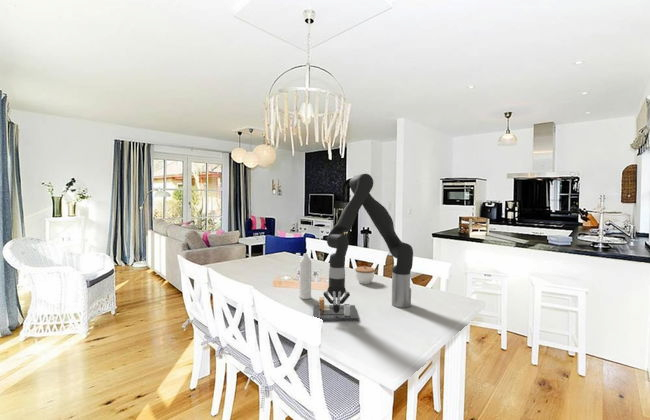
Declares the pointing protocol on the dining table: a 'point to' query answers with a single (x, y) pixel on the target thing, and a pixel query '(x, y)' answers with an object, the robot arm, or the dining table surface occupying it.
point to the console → (330, 315)
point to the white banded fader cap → (346, 309)
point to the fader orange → (321, 302)
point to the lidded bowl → (364, 274)
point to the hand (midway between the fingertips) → (336, 312)
